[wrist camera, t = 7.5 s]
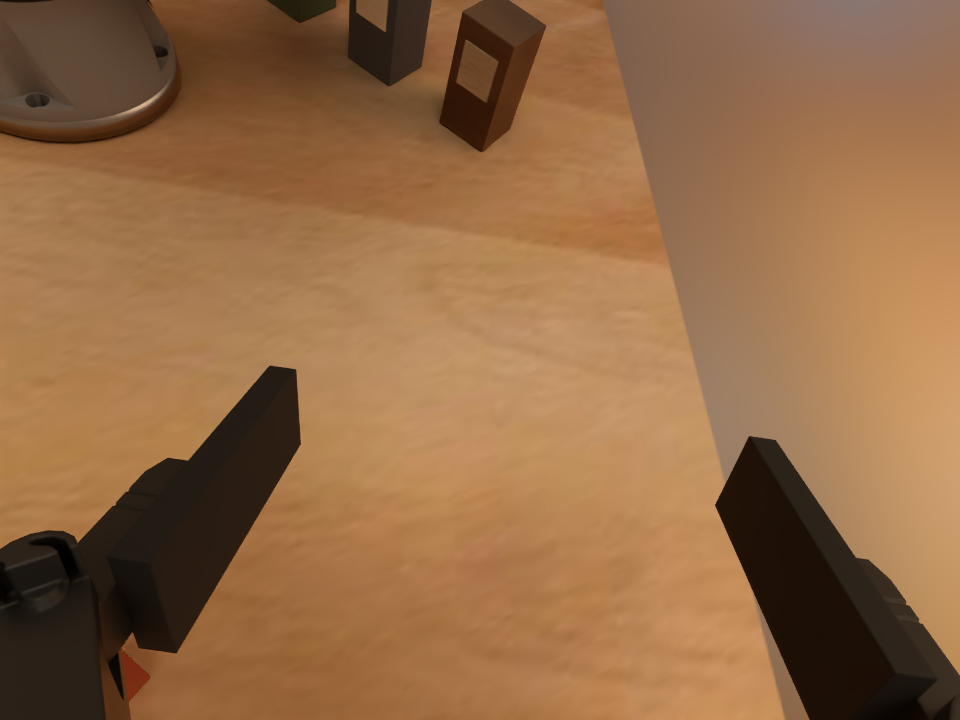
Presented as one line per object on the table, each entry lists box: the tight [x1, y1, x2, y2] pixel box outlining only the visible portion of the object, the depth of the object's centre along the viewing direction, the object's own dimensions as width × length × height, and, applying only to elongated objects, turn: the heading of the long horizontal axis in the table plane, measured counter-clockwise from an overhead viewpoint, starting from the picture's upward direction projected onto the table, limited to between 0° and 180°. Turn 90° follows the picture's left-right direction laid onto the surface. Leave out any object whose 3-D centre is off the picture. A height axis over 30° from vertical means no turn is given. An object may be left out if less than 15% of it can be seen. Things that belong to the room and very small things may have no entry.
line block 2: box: [348, 0, 432, 86], centre depth 45 cm, size 5×5×10 cm
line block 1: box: [440, 0, 546, 152], centre depth 44 cm, size 5×5×10 cm
